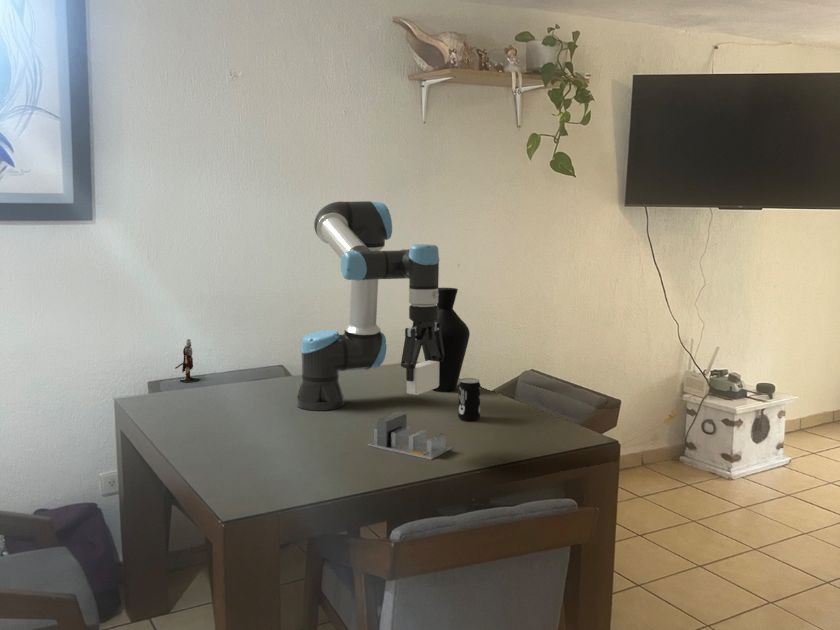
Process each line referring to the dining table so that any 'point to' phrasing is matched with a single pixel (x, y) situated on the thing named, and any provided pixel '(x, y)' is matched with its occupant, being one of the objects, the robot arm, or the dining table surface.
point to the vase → (449, 341)
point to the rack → (406, 438)
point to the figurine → (187, 363)
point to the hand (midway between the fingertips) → (423, 389)
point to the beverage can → (469, 399)
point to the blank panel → (426, 376)
